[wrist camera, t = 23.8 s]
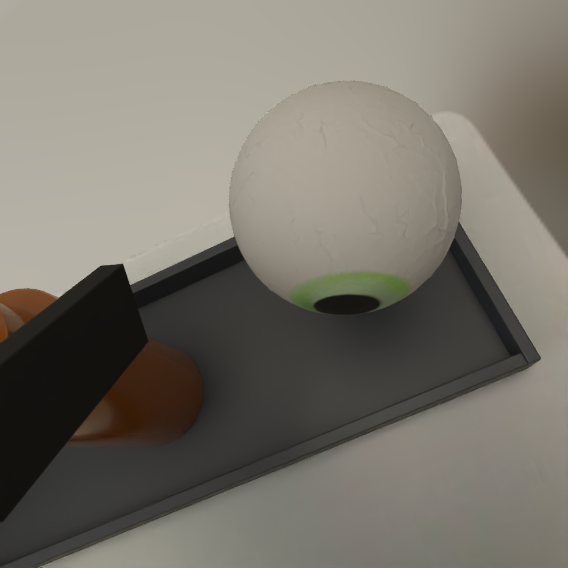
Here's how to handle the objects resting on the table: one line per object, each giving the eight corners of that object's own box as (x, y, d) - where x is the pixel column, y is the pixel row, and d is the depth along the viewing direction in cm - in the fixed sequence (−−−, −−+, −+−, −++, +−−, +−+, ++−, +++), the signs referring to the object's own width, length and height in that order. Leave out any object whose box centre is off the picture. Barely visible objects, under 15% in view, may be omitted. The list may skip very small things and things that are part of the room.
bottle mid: (210, 348, 27) (-65, 212, 11) (195, 452, 25) (-154, 460, 10) (124, 343, 28) (-224, 216, 13) (104, 441, 27) (-325, 432, 11)
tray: (416, 176, 28) (416, 151, 25) (528, 368, 23) (542, 358, 21) (-104, 416, 32) (-146, 413, 29) (-100, 623, 27) (-149, 640, 24)
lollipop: (308, 374, 25) (184, 286, 11) (302, 251, 27) (193, 53, 14) (449, 364, 23) (504, 247, 10) (429, 234, 26) (451, -8, 12)
